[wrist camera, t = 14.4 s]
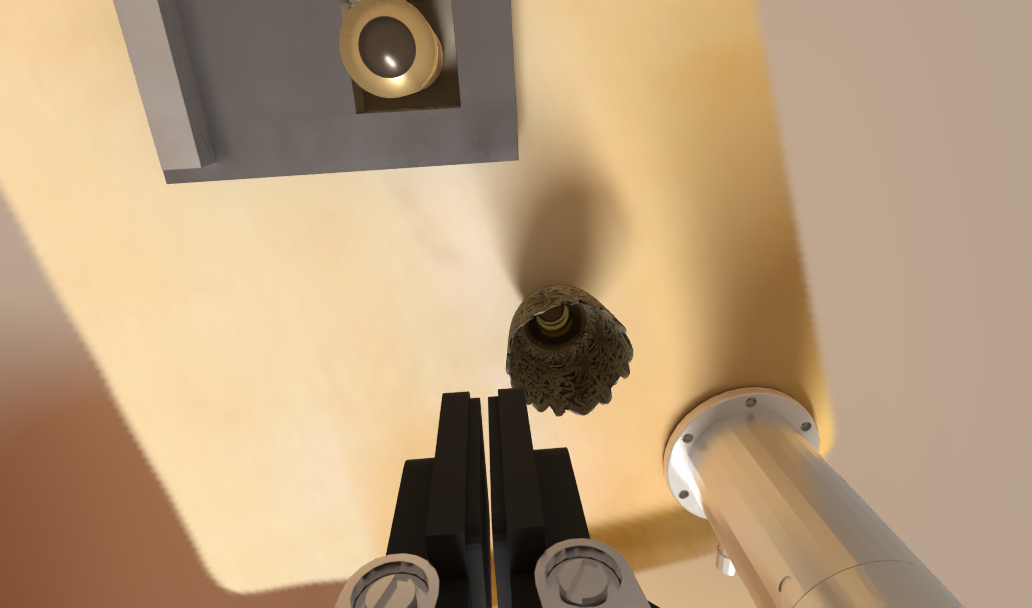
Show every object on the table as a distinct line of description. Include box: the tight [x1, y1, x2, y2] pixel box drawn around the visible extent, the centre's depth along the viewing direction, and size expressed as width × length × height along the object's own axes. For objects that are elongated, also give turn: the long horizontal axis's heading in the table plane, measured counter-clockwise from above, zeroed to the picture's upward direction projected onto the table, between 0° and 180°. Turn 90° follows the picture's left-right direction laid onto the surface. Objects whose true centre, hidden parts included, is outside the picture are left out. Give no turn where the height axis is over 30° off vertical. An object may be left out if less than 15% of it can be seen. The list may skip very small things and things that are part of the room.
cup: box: [506, 285, 633, 416], centre depth 36 cm, size 8×7×8 cm
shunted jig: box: [113, 0, 519, 184], centre depth 30 cm, size 16×20×5 cm
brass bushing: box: [339, 0, 443, 98], centre depth 28 cm, size 4×4×10 cm
